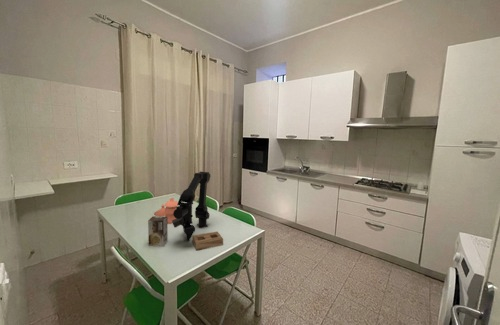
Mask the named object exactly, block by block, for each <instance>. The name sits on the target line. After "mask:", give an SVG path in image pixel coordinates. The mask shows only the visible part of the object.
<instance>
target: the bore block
mask: <svg viewBox="0 0 500 325" xmlns="http://www.w3.org/2000/svg"><path fill="white" fill-rule="evenodd" d="M191 238H192V240H191V241H192V244H193V245H194V248H195V251H201V250H207V249H210V248H211V249H212V248H216V247H220V246H223V245H224V238H223V236H222V235H221V234H220V233H219V232H218V231H211V232H206V233H201V234H195V235H192V236H191Z"/></svg>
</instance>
